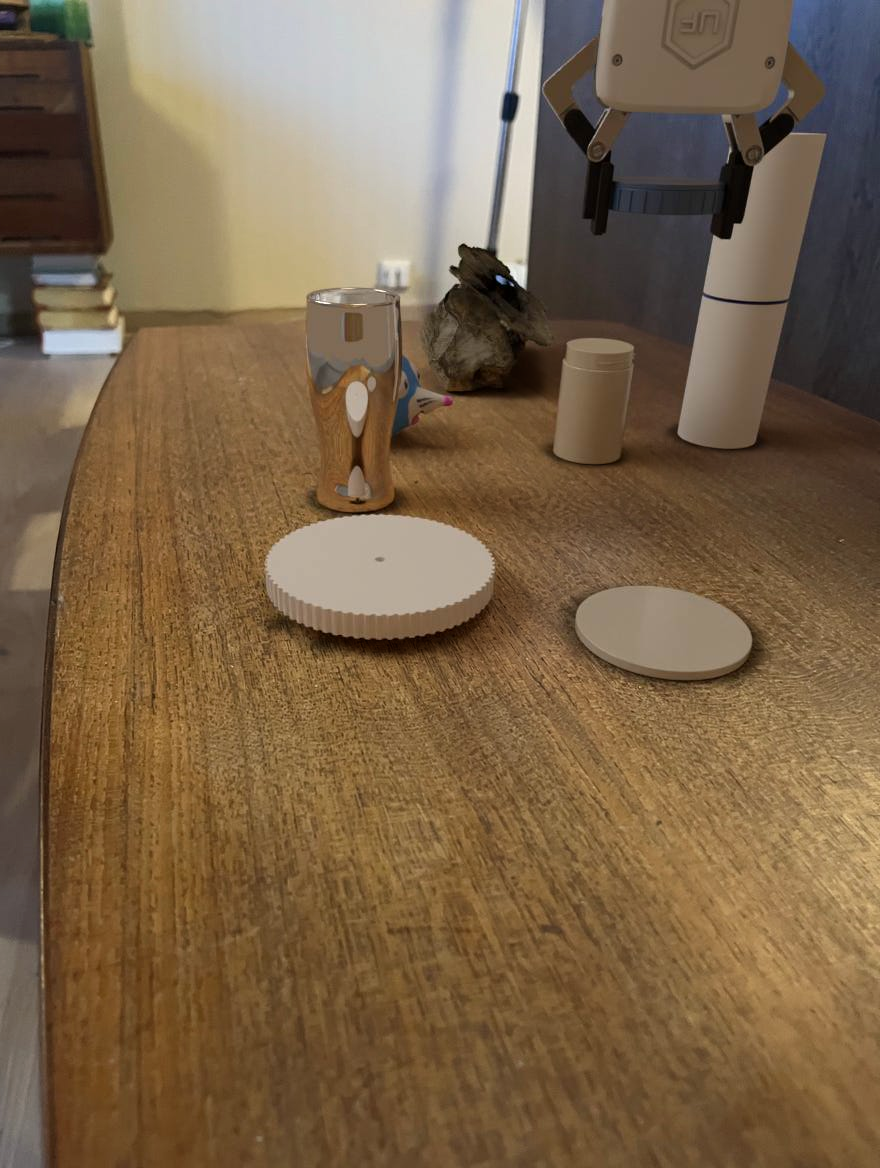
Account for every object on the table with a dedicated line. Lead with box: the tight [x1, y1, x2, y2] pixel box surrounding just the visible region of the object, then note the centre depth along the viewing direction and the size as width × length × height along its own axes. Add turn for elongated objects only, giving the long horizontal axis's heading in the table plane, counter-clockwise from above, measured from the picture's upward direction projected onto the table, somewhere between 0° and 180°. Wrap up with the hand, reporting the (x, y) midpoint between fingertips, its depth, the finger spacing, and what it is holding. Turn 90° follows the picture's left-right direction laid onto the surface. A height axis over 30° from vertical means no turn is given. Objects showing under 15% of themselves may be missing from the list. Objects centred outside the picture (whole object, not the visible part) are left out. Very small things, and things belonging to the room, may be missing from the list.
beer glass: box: [304, 286, 403, 513], centre depth 65 cm, size 7×7×15 cm
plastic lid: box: [264, 513, 496, 641], centre depth 54 cm, size 14×14×2 cm
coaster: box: [574, 585, 753, 681], centre depth 52 cm, size 10×10×1 cm
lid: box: [609, 176, 726, 216], centre depth 54 cm, size 7×7×2 cm
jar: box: [552, 337, 636, 465], centre depth 77 cm, size 6×6×9 cm
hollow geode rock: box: [419, 243, 554, 392], centre depth 102 cm, size 28×13×15 cm
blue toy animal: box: [391, 354, 454, 438], centre depth 79 cm, size 12×12×8 cm
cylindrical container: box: [677, 132, 827, 450], centre depth 77 cm, size 7×7×25 cm
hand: (658, 232), depth 55 cm, fingers closed on lid, 7 cm apart
